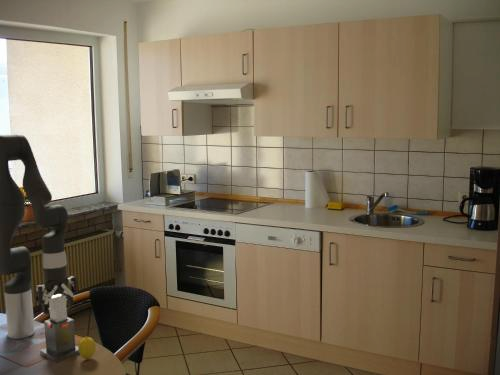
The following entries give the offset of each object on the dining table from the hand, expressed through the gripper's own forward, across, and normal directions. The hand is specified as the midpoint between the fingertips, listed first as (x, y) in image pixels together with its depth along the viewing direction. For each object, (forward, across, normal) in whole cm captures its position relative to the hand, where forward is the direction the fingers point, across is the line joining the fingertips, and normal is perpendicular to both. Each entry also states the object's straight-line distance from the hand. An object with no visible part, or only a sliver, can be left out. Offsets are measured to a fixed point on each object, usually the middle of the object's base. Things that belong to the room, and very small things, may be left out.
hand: (58, 310), depth 185 cm
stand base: (+16, 0, 0) cm, 16 cm away
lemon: (+16, -4, +11) cm, 20 cm away
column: (+14, 0, 0) cm, 14 cm away
